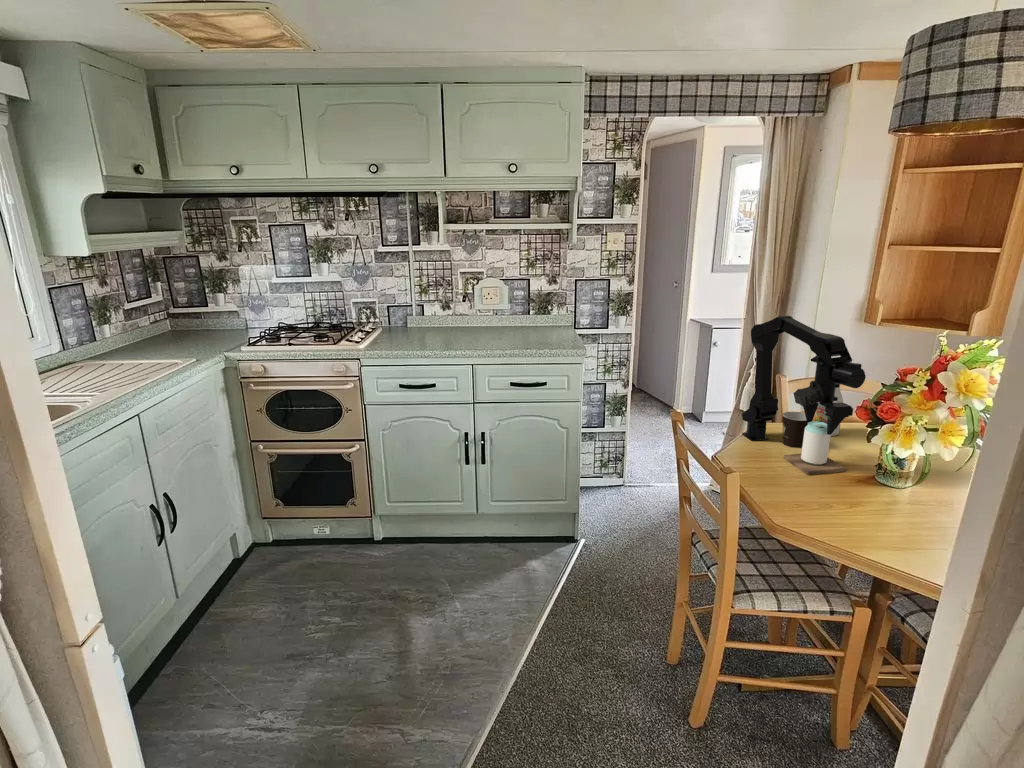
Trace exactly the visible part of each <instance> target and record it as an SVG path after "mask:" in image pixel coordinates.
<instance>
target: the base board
mask: <svg viewBox="0 0 1024 768" xmlns="http://www.w3.org/2000/svg"><path fill="white" fill-rule="evenodd" d="M783 460H785V461H787V462H788V463H789V464H791V465H792V466H794V467H795V468H797V469H798V470H800V471H801V472H803V473H804V474H805V475H807V476H813V475H822V474H823V475H824V474H825V475H826V474H832V473H833V474H834V473H845V472H846V467H844V466H843V465H841V464H839V463H838V462H836V461H834V460H833V459H832V458H830V457H828V456H827V462H826V463H824V464H822V465H812V464H809V463H806V462H805V461H804V460H802V459H801V453H794V454H784V455H783Z"/></svg>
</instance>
